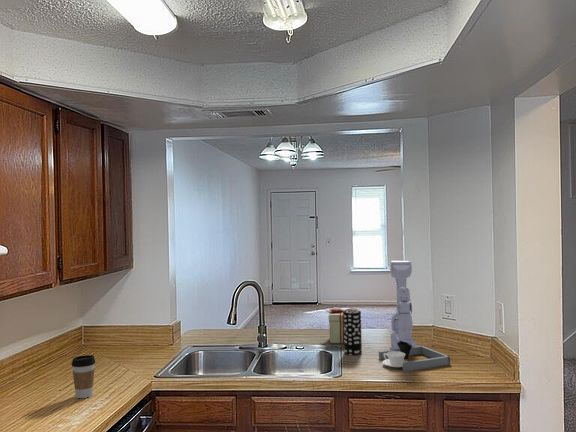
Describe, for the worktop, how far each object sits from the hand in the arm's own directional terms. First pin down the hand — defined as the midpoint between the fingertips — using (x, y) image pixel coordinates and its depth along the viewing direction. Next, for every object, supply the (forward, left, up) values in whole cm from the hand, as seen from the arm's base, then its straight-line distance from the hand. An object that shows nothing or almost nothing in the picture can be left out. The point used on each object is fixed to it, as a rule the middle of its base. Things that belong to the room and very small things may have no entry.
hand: (405, 358), depth 221 cm
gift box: (-49, -6, -2) cm, 50 cm away
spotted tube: (-24, -13, -2) cm, 28 cm away
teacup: (+2, -6, -2) cm, 6 cm away
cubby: (0, +4, -2) cm, 4 cm away
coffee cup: (-15, -133, -2) cm, 134 cm away
